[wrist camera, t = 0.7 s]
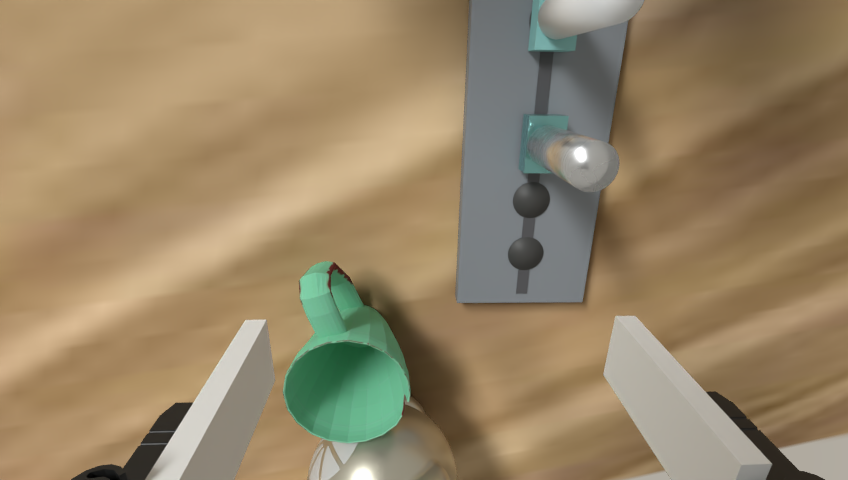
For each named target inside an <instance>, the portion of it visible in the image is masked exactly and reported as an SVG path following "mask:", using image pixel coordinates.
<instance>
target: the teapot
mask: <svg viewBox="0 0 848 480" xmlns="http://www.w3.org/2000/svg"><path fill="white" fill-rule="evenodd" d="M307 480H457V469H456V464H455V460H454V456H453V453H452V450H451V448H450V445H449V443H448V441H447V439H446V438H445V436H444V434H443V433H442V431H441V430H440V429H439V427H438V426H437V425H436V424H435V423H434V422H433V421H432V420H431V419H430V418H429V417H428V416H426V413H425V411H424V409H423V407H422V406H421V405H420V403H419V402H418V401H417V400H416V399H414V398H413V397H412V396H411V397H410V401H409V402H407V399H406V397H405V409H404V413H403V416H402V418H401V420H400V421H399V423H398V424H397V425H396V426H395V427H393V428H392V429H391V430H389V431H388V432H387V433H385V434H384V435H382V436H379V437H377V438H374V439H371V440H369V441H366V442H356V443H340V442H333V441H327V440H325V439H321V441H320V442H319V444H318V446H317V448H316V450H315V452H314V455H313V457H312V460H311V463H310V467H309V472H308V477H307Z"/></svg>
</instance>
